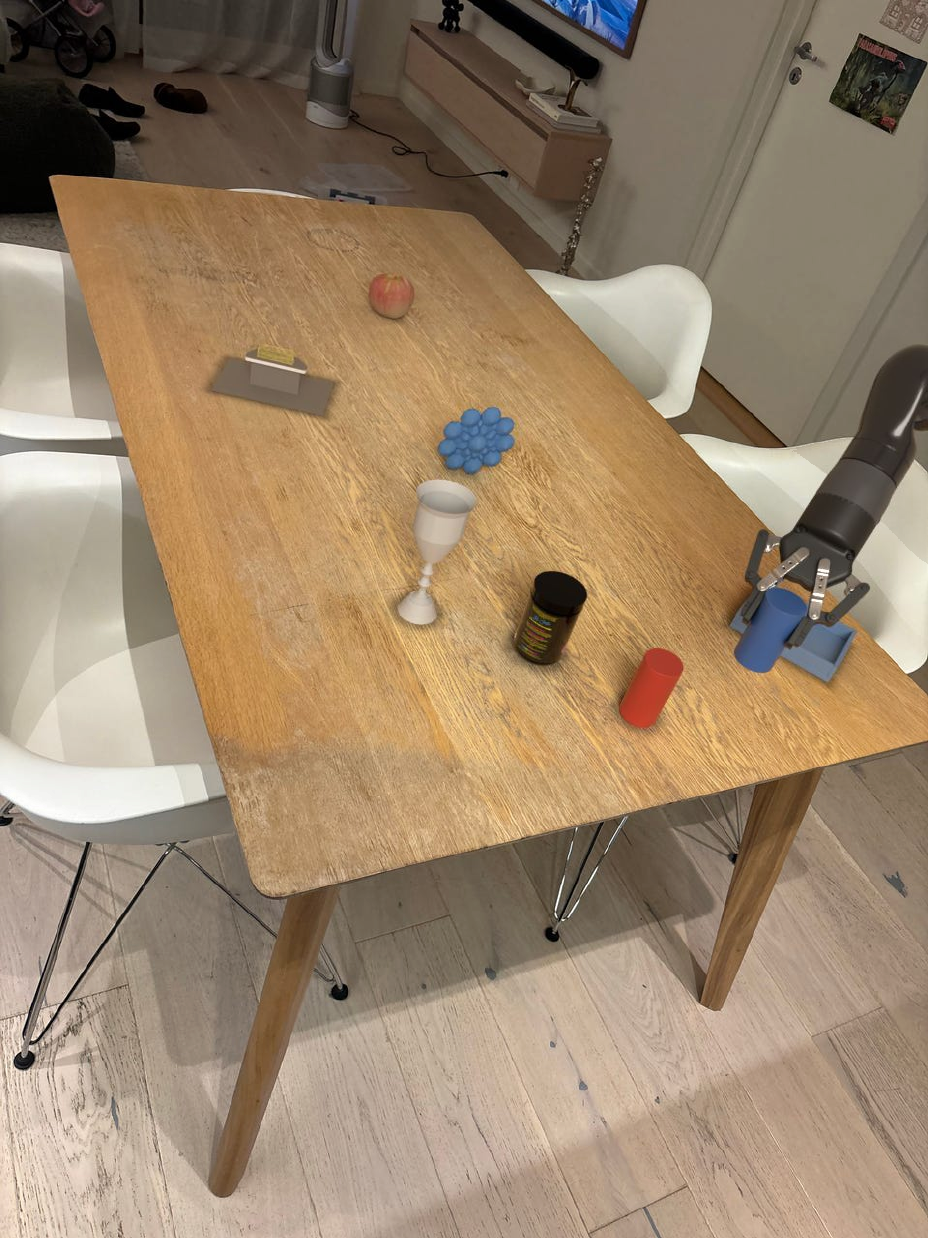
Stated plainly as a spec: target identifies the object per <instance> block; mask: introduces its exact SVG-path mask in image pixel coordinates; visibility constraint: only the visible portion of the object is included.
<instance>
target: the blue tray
mask: <svg viewBox="0 0 928 1238" xmlns="http://www.w3.org/2000/svg"><path fill="white" fill-rule="evenodd" d="M774 588H779V587H778V586H777V585H776V586H775V587H774ZM749 597H750V595H749V596H748V597H747V598H746V600H745V601H744V603H743V604H742V605H741V606H740V608H739V609H738V610H737V612H736V614H735V615H734V617H733V619H732V621H731V622H730V624H729V627H730V628H732V629H734V631H737V632H738V633H740V634H741V635H743V633H744V631H745V629H746V627H747V626H748V625H746V624H744V623H742V619H743V618H744V617H742V616H741V610H742V608H743V606H744V604H745V603H746V601H747V600H748V598H749ZM805 603H806V606H807V611H808V606H809V603H808V602H805ZM806 615H807V612H806V614H805V615H804V616H805V617H806ZM748 624H749V623H748ZM857 633H858V630H856V629H854V628H852V627H851V626H849V625H847V624H846V623H843V622H841V621H840V620H839V621H838V622H837V623H836V624H835V625H833V626H832V627H827V626H825V625H821V624H816V625H814V626H813V627H812V628H811V630H810V632H809V633H808V635H807V636H806V638H805V640H804V641H803V643H802V644H801V645H800V646H799V647H798V648H797V647H795V646H792V648H791V650H790V649H788V648H786V647H785V648H784V650H783V652H782V653H781V655H780V656H779V657H782V658H784V659H786V660H787V661H789V662H791V663H792V664H795V666H798V667H800V668H801V669H803V670H805V671H806V672H808V673H810V674H812V675H814V676H815V677H817V678H819V679H821V680H822V681H824V682H825V683H826V684H827V683H829V681H830V680H831V679H832V678H833V676H834V675H835V673H836V672H837V670H838V668H839V667H840V665H841V663H842V661H843V659H844V658H845V656H846V654H847V652H848V650H849V648H850V647H851V644H852V643H853V641H854V639H855V637H856V635H857Z"/></svg>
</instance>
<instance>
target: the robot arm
mask: <svg viewBox="0 0 928 1238" xmlns="http://www.w3.org/2000/svg"><path fill="white" fill-rule="evenodd" d="M915 432H916V433H928V344H925V343H914V344H910V345H907V346H905V347H903V348H901V349H899V350H897V351H896V352H895V353H893V354H892V355H891V356H889V357H888V359H886V361H885V362H884V363H883V364H882V365H881V367H880V368H879V370H878V371H877V373H876V375H875V378H874V379H873V382H872V384H871V386H870V388H869V391H868V395H867V398H866V401H865V404H864V407H863V410H862V413H861V416H860V420H859V423H858V427H857V430H856V433H855V435H854V436H853V437H852V438H851V441H850V442H849V444H848V445H847V446H846V448H845V449H844V451H843V453H842V454H841V457H839V460H837V462H836V464H835V465H834V467H833V468H832V469H831V470H830V471H829V472H828V473H827V475H826V476H825V477H824V478H823V481H822V482H821V484H820V485H819V487H818V488H817V489H816V491H815V493H814V495H813V497H812V498H811V499H810V501H809V502H808V504H807V505H806V507H805V509H804V510H803V511H802V514H801V516H800V517H799V518H798V520H797V522H796V523H795V525H794V526H793V528H792V529H791V530H790V531H788V533H786V534H784V535H783V536H778V535H775V534H771V533H769V531H768V530H766V529H764V528H762V529H760V530H758V532H757V534H756V538H755V541H754V544H753V548H752V551H751V554H750V557H749V560H748V563H747V567H746V569H745V573H744V578H743V579H744V581H745V583H746V584H748V585H749V586H750V587H751V589H752V591H751V593H750V594H749V596H750V597H749V596H748V597H749V598H748V597H747V599H748V600H747V599H746V600H747V601H746V600H745V601H746V603H745V602H744V603H745V604H744V603H743V604H744V606H743V608H742V610H741V616H742V617H744V618H743V619H742V623H744V624H746V625H748V623H749V622H750V620H751V619H752V617H753V615H754V613H755V612H756V610H757V608H758V606H759V604H760V603H761V601H762V599H763V597H764V595H765V594H766V592H767V590H769V589H771V588H774V587H775V586H776V587H777V586H778V585H780V584H781V583H783V582H784V581H786V580H787V581H788V582H791V583H794V584H797V585H799V586H800V587H801V588H802V589H803V590H805V591H807V592H809V593H810V594H809V600H808V604H809V606H808V611H807V615H806V617H805V616H804V617H803V618H802V620H801V621H800V623H799V625H798V626H797V628H796V629H795V631H794V633H793V634H792V636H791V637H790V639H789V641H788V642H787V644H786V646H785V647H786V648H788V649H790V650H791V648H792V646H795V647H797V648H798V647H799V646H800V645H801V644H802V643H803V641H804V640H805V638H806V636H807V635H808V633H809V632H810V630H811V628H812V627H813V626H814V625H816V624H821V625H825V626H827V627H832V626H833V625H835V624H836V623H837V622H838V621H840V620H841V619H842V618H843V617H844V616H845V615H847V614H848V613H849V612H850V611H851V610H852V609H853V608H854V607H855V606H856V605H857V604H859V602H861V601H862V600H863V599H864V598H865V597H866V596H867V594H868V593H869V592H870V591H871V586H870V584H869V583H868V582H862V581H860V580H859V578H857V577H856V576H855V575H854V574H853V565H854V562H855V560H856V559H857V557H858V555H859V554H860V553H861V551H862V549H863V548H864V546H865V544H866V543H867V541H868V540H869V538H870V537H871V534H873V531H874V530H875V528H876V527H877V526H878V524H879V523H880V522H881V520H882V517H883V516H884V514H885V513H886V511H887V509H888V507H889V506H890V503H891V500H892V498H893V496H894V494H895V492H896V490H897V489H898V487H899V486H900V484H901V482H902V481H903V480H904V478H905V477H906V475H907V473H908V471H909V469H910V468H911V466H912V465H913V463H914V461H915V459H916V457H917V454H918V445H917V440H916V436H915ZM777 547H778V551H779V558H780V564H778V565H777V566H776V567H774V569H772V570H771V572H769V573H768V574H767V575H765V576H764V577H761V576H760V575H759V573H758V572H759V568H760V565H761V562H762V559H763V556H764V554H770V553H771V552H772V550H773V549H774V548H777ZM844 582H845V584H846V586H845V588H844V590H843V594H844V596H845V597H844V599H842V600H841V601H840V602H839V603H837V605H835V607H834V608H832V610H830V611H823V610H822V609H823V604H824V603H823V602H824V599H825V594H826V590H827V589H830V588H831V587H834V586H838V585H839V584H841V583H844Z"/></svg>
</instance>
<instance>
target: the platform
mask: <svg viewBox="0 0 928 1238" xmlns="http://www.w3.org/2000/svg"><path fill="white" fill-rule="evenodd" d="M267 347H268V349H267ZM274 348H275V349H276V350H275V349H274ZM282 350H283V351H284V352H283V351H282ZM290 352H291V353H292V354H291V353H290ZM295 354H296V351H295V350H292V349H286V348H283V347H278V346H275V345H269V344H266V343H259V345H258V347H257V348H255V349H252V350H250V351H248V352H246V353H245V356H244V360H245V361H243V360H238V359H234V358H229V359H228V360H227V362H226V364H225V366H224V368H223V369H222V371H221V372H220V374H219V376H218V377H217V379H216V381H215V383H214V384H213V387H212V388H211V390H210V391H211V392H215V393H220V394H225V395H229V396H233V397H238V398H241V399H247V400H250V401H255V402H259V403H263V404H268V405H272V406H276V407H281V408H285V409H290V410H294V411H299V412H302V413H306V414H312V415H315V416H320V417H323V416H324V413H325V410H326V408H327V404H328V402H329V399H330V396H331V393H332V390H333V388H334V385H335V382H331V381H327V380H323V379H319V378H314V377H310V376H306V375H305V374H307V372H308V366H307V364H305V363H304V362H303V360H301V358H299V357H297V356H295ZM246 361H247V362H246ZM250 362H251V363H250ZM301 374H303V375H301Z"/></svg>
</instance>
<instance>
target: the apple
mask: <svg viewBox="0 0 928 1238" xmlns="http://www.w3.org/2000/svg"><path fill="white" fill-rule="evenodd" d="M414 299H415V289H414V285H413V284H412V282H411V280H410V279H409V278H408V277H406V276H404V275H402V274H400V273H399V274H398V273H394V272H385V273H380V274H378V275H376V276H375V277H374V278H372V280H371V282H370V284H369V287H368V300H369V303H370V306H371V308H372V309H373V310H374V311H375V312H376V313H377V314H378V315H380V316H382V317H385V318H388V319H392V320H398V319H400V318H403V317H404V316H405V315H407V313H408V312H409V311H410V309H411V307H412V305H413V303H414Z"/></svg>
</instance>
